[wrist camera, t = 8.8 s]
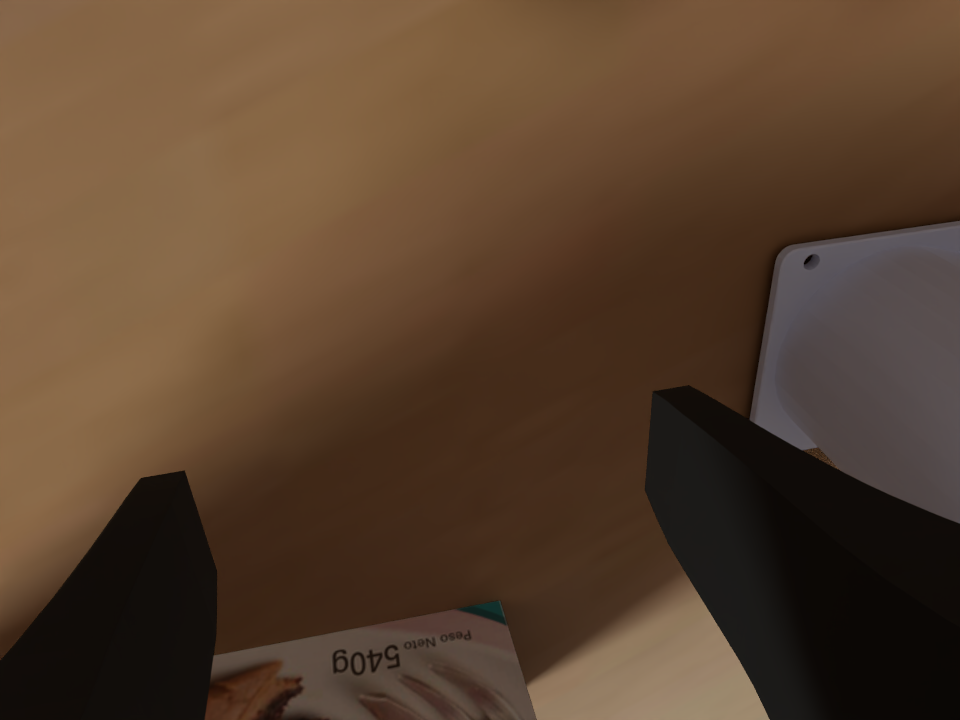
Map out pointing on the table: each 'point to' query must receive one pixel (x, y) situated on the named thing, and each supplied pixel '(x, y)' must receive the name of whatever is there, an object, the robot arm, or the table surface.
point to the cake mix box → (380, 673)
